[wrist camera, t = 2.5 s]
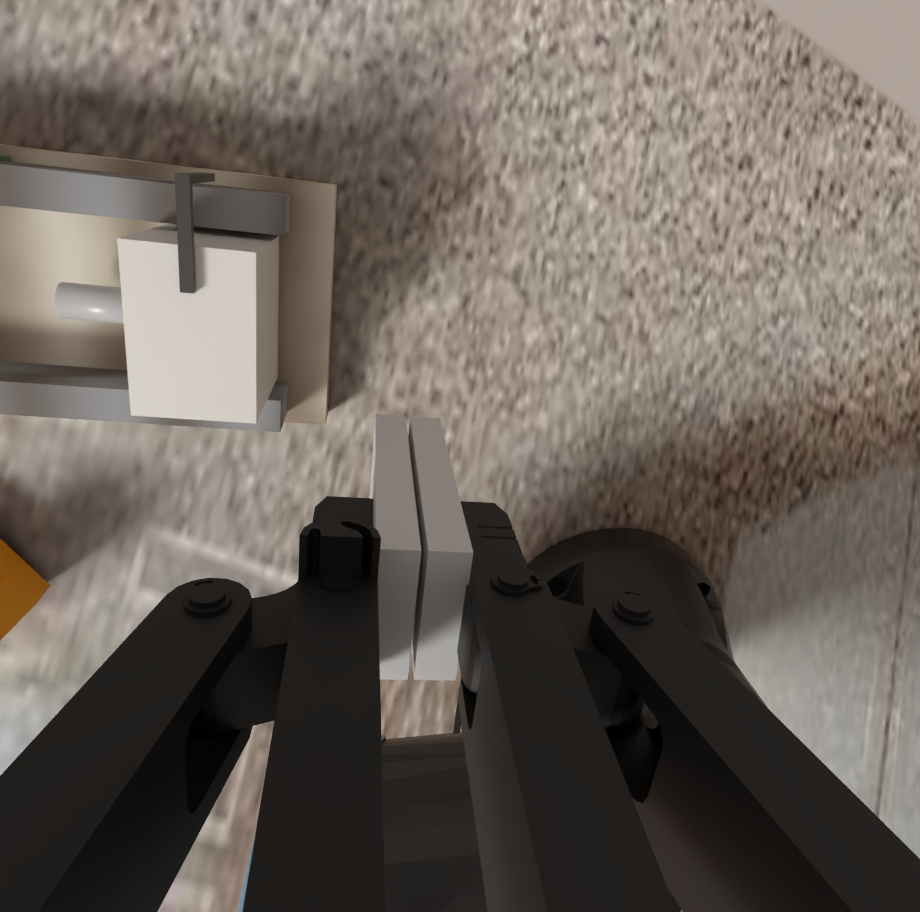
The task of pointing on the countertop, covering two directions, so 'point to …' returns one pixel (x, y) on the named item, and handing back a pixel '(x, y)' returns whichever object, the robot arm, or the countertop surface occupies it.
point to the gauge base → (97, 263)
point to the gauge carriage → (191, 316)
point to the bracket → (17, 588)
